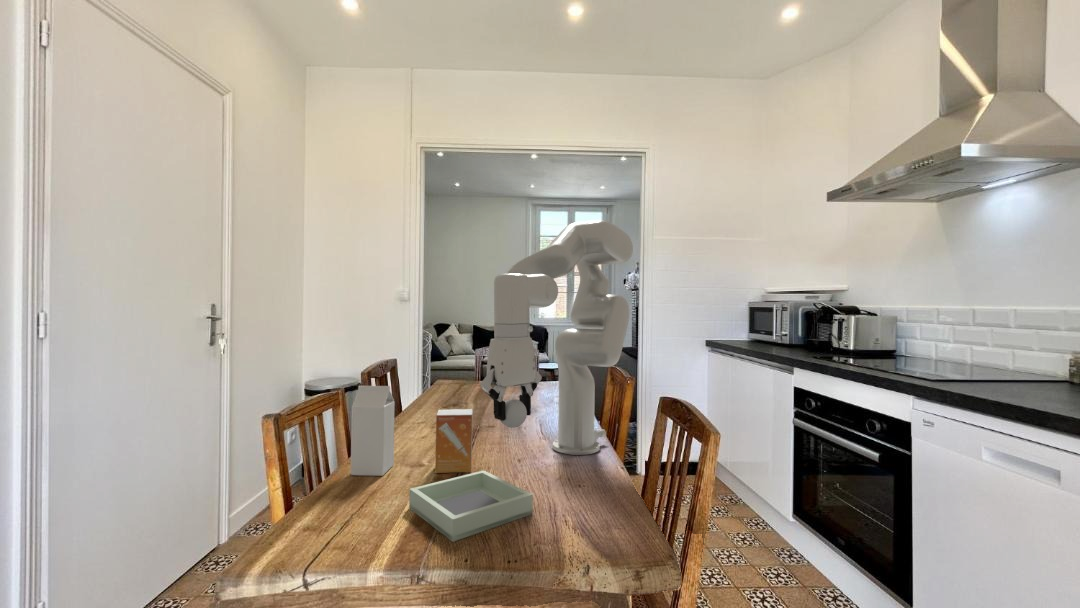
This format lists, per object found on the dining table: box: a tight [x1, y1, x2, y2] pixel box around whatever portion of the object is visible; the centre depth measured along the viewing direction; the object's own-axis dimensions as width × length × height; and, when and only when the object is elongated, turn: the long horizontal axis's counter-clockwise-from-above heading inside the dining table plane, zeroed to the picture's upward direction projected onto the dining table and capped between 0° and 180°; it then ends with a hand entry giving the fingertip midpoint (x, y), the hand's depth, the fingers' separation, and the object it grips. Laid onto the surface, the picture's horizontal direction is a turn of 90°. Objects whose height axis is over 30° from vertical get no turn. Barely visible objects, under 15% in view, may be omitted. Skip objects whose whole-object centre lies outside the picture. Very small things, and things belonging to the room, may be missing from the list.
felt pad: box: [436, 490, 499, 515], centre depth 84 cm, size 10×10×1 cm
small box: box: [434, 408, 474, 474], centre depth 107 cm, size 8×6×13 cm
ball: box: [499, 398, 528, 429], centre depth 99 cm, size 6×6×6 cm
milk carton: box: [350, 385, 396, 477], centre depth 105 cm, size 7×7×19 cm
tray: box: [408, 470, 534, 543], centre depth 84 cm, size 16×16×4 cm
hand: (512, 415), depth 99 cm, fingers closed on ball, 5 cm apart
